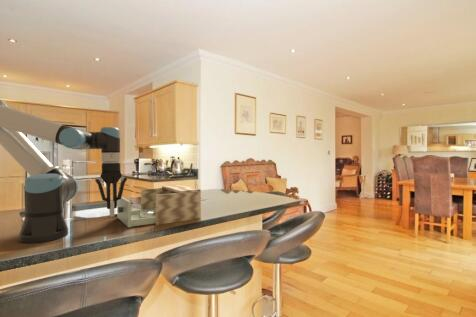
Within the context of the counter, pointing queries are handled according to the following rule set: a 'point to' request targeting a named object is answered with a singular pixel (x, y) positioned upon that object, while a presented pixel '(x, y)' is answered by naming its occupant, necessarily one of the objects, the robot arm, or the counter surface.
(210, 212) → the counter surface
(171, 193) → the case
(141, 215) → the disc
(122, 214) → the tray
